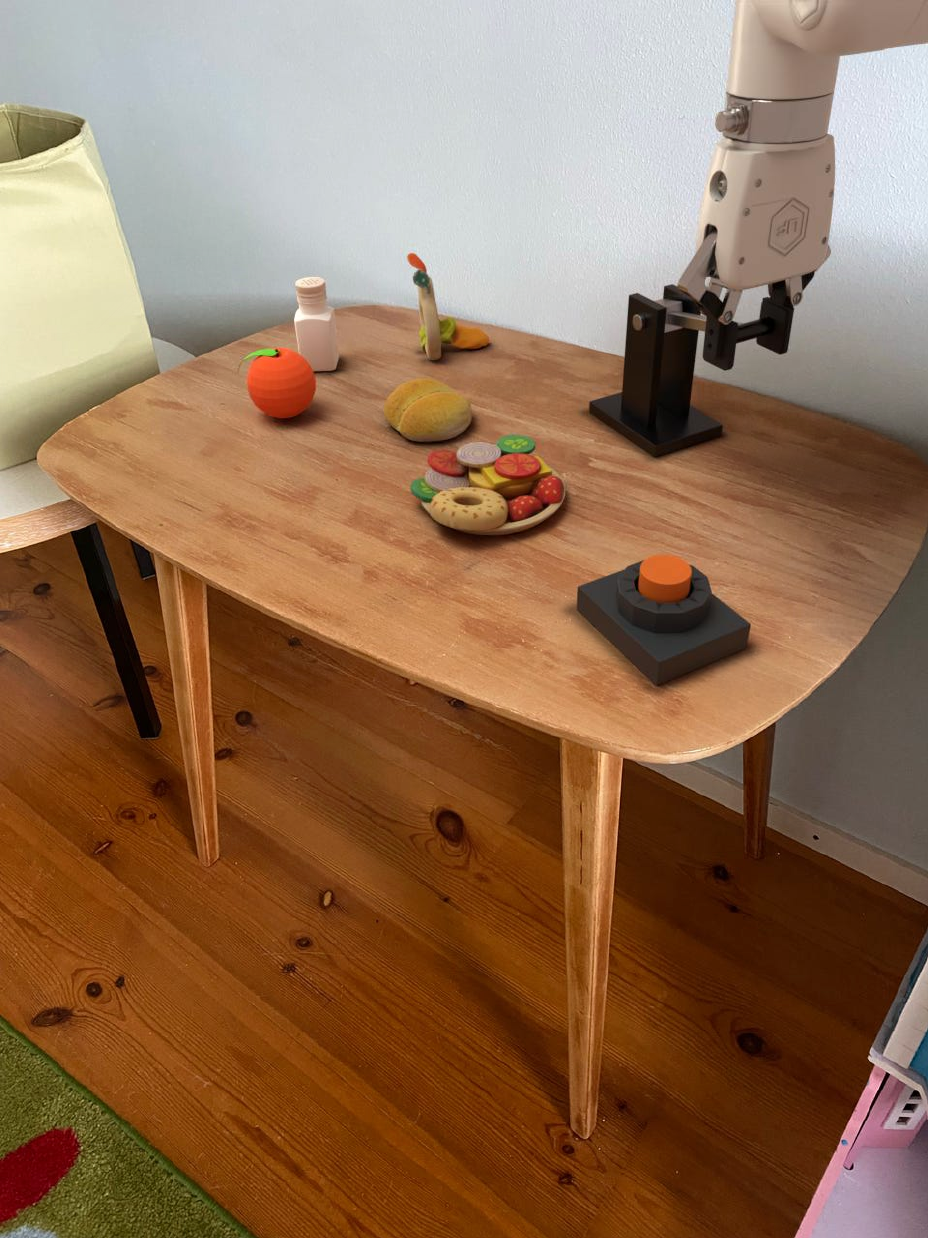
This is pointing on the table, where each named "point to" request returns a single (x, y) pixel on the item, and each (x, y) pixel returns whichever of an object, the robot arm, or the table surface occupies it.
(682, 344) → the bracket
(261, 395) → the clementine
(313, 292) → the salt shaker
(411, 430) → the bread roll
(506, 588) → the table surface
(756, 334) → the lever
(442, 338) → the rattle
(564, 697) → the table surface
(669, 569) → the button
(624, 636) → the control block
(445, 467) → the toy food set
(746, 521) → the table surface
